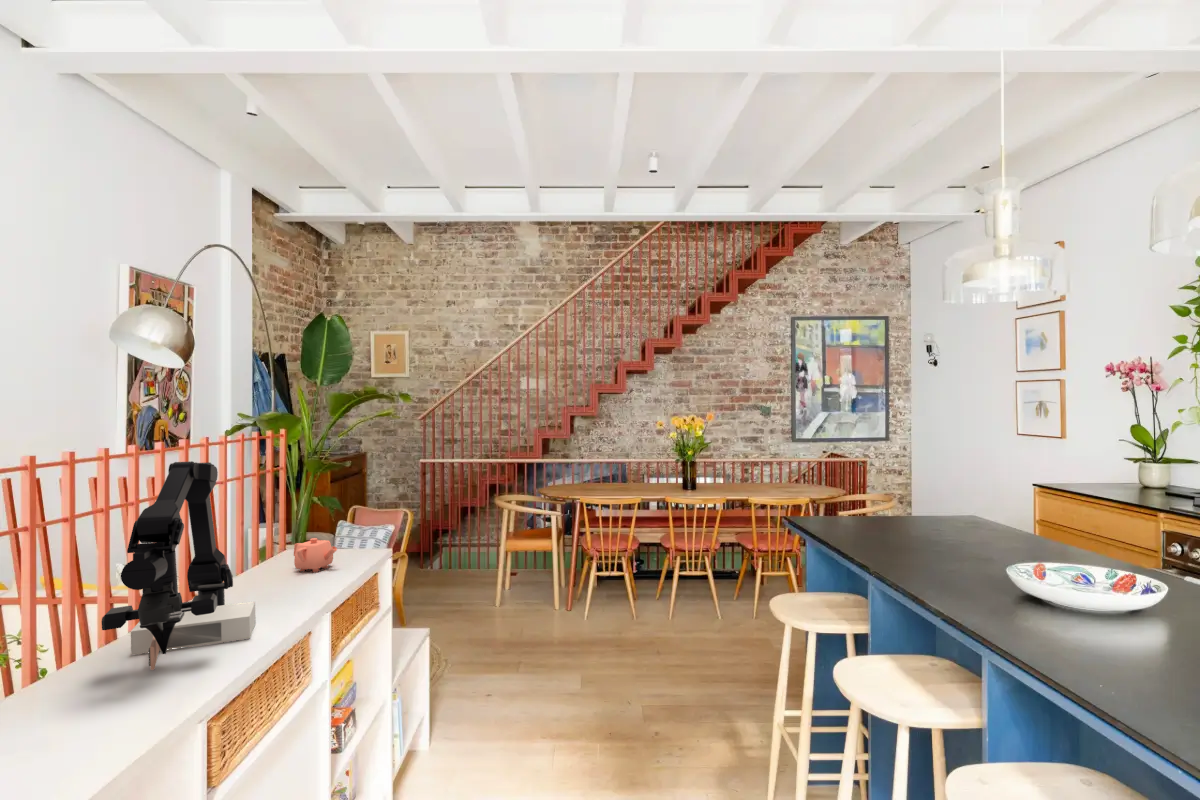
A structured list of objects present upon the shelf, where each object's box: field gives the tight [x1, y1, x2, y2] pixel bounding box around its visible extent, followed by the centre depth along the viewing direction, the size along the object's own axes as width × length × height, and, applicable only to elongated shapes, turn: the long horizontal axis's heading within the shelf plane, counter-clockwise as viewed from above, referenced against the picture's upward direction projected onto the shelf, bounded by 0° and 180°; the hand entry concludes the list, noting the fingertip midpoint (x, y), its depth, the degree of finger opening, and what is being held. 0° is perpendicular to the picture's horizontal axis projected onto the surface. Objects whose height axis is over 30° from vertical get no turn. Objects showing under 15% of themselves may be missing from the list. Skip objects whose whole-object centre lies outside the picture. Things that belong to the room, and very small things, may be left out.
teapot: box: [293, 537, 338, 573], centre depth 207 cm, size 12×12×10 cm
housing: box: [130, 601, 257, 656], centre depth 147 cm, size 12×22×5 cm, turn 112°
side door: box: [148, 636, 160, 671], centre depth 134 cm, size 1×12×4 cm, turn 30°
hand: (164, 653), depth 132 cm, fingers closed
